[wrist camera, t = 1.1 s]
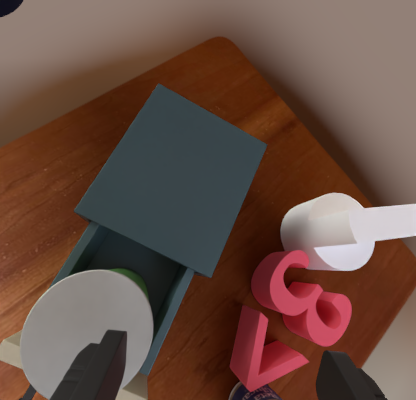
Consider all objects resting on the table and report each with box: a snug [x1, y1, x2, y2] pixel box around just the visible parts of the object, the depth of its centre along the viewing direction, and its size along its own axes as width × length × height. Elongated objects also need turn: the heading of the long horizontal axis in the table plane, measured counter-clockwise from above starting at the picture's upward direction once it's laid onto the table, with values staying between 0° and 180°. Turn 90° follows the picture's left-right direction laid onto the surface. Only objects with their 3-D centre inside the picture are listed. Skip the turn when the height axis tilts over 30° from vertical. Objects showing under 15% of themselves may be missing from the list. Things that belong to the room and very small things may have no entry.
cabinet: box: [74, 84, 267, 278], centre depth 27 cm, size 15×13×9 cm
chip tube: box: [20, 268, 153, 400], centre depth 18 cm, size 6×6×15 cm
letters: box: [229, 250, 352, 392], centre depth 28 cm, size 14×10×5 cm
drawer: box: [0, 221, 195, 400], centre depth 23 cm, size 18×11×7 cm, turn 155°
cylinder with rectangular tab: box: [280, 193, 416, 271], centre depth 29 cm, size 9×9×12 cm
